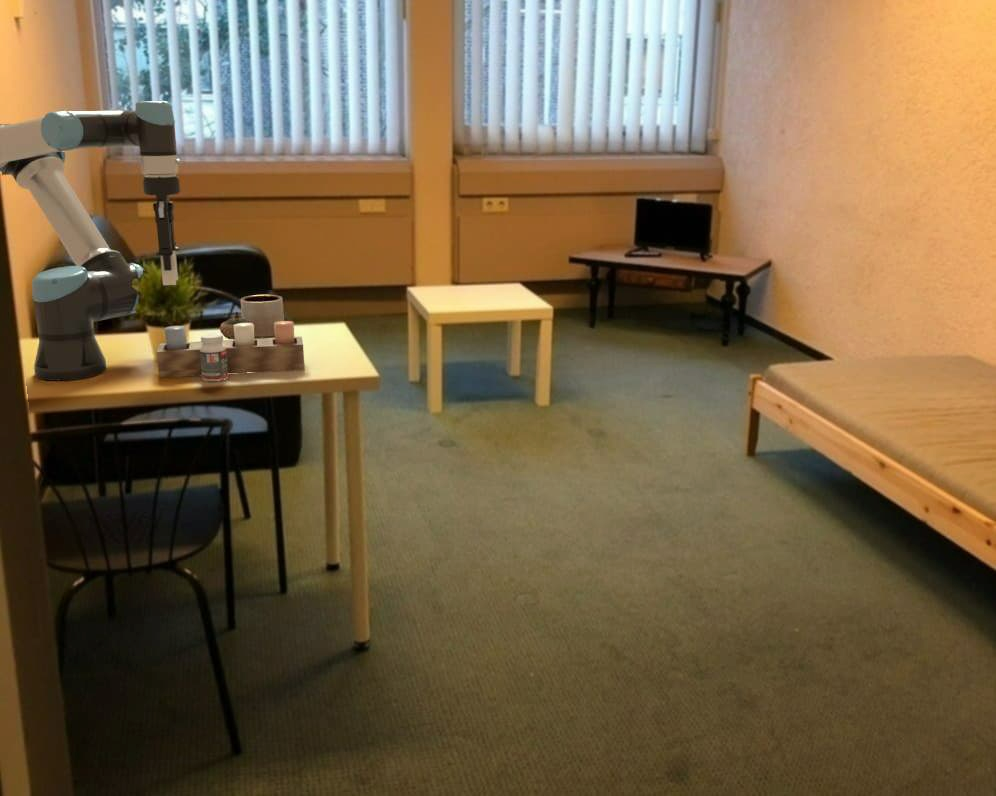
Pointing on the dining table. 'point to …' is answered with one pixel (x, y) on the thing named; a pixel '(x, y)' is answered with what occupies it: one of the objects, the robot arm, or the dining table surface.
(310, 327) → the dining table surface
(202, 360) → the pill bottle
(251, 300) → the planter
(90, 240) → the robot arm
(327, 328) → the dining table surface
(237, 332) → the cream block
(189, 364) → the wooden slotted rack
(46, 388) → the dining table surface
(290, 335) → the pink cylinder
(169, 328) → the grey cylinder
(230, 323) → the acorn
